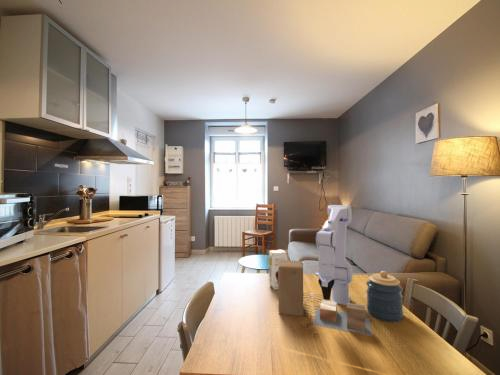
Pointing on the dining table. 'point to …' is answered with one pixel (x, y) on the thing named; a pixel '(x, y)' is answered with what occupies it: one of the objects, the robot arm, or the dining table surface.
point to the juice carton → (275, 266)
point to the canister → (384, 297)
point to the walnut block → (356, 317)
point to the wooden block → (290, 288)
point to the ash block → (328, 310)
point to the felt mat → (340, 323)
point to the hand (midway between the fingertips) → (326, 298)
